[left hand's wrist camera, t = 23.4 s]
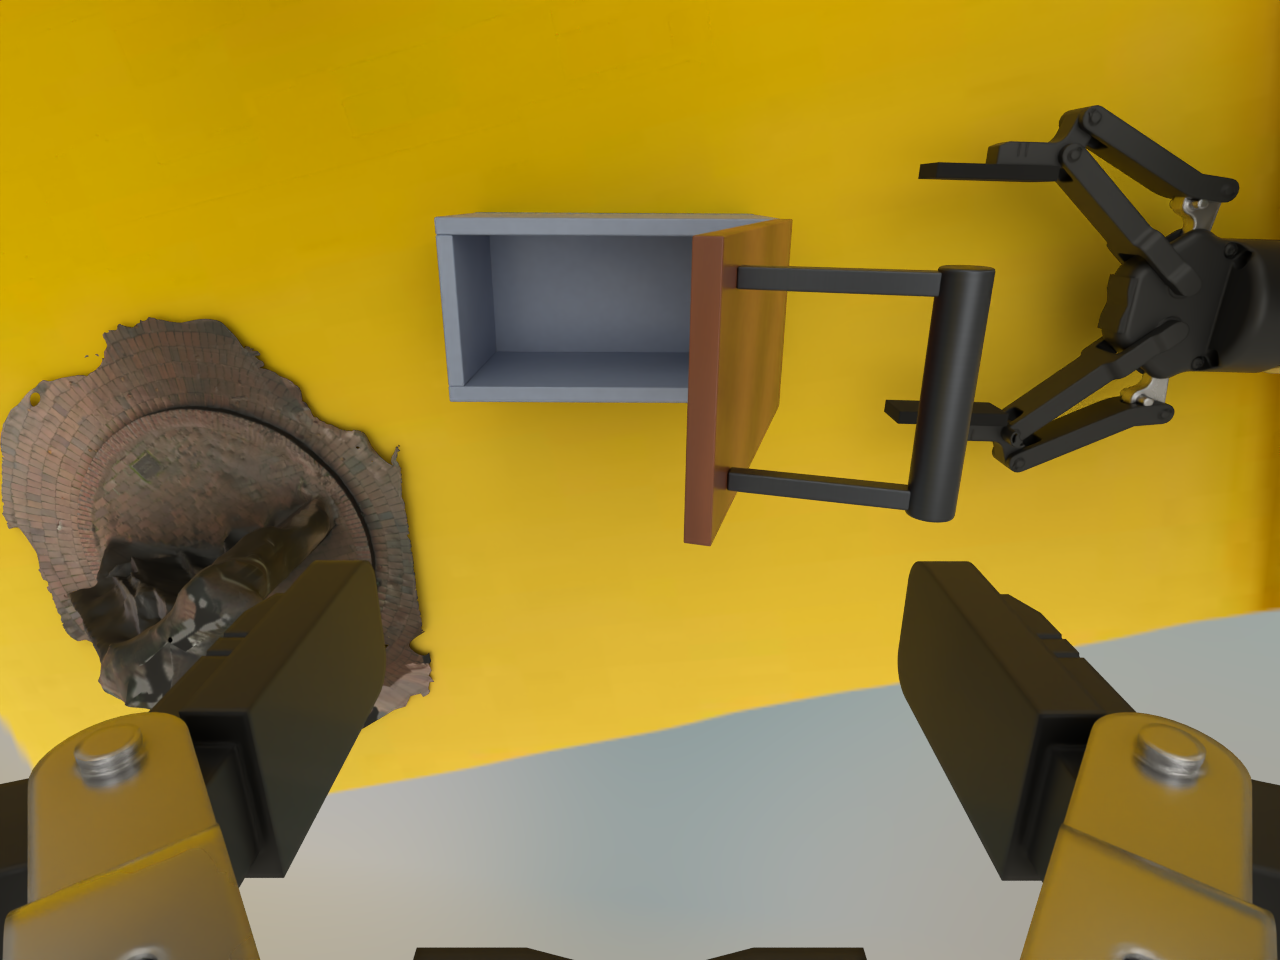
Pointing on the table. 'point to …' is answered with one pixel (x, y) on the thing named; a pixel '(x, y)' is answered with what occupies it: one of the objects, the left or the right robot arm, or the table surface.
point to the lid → (752, 363)
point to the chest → (569, 304)
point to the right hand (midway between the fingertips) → (907, 297)
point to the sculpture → (197, 505)
